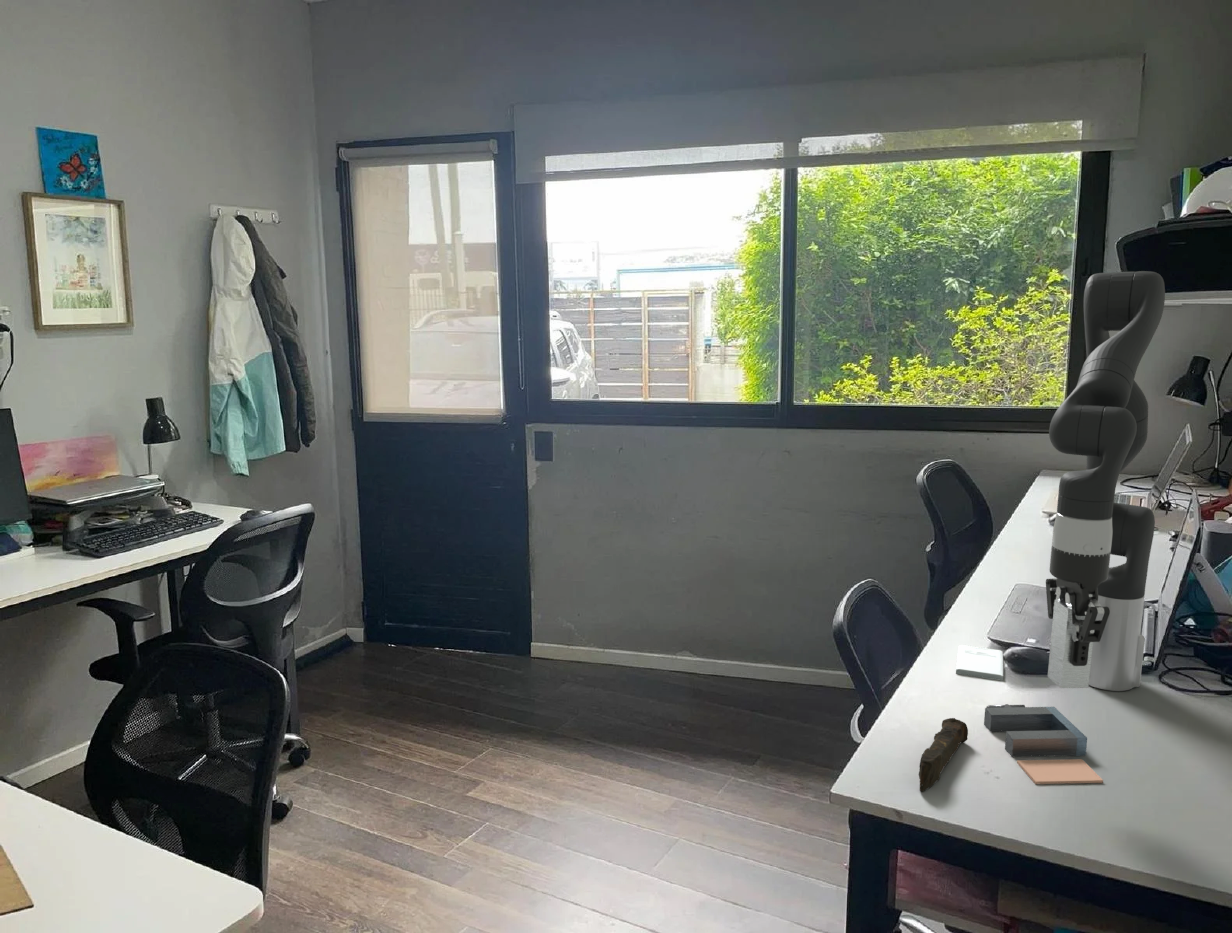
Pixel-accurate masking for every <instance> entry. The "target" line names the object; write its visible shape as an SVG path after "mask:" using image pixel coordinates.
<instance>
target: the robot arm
mask: <svg viewBox="0 0 1232 933" xmlns="http://www.w3.org/2000/svg"><path fill="white" fill-rule="evenodd" d="M1161 275H1162V274H1159V273H1157V272H1155V271H1150V270H1149V271H1147V270H1146V271H1145V270H1141V271H1140V270H1139V271H1116V272H1115V271H1114V272H1113V271H1112V272H1099V273H1094V274H1092V275H1091V276H1090V277H1089V278H1088V279H1087V281H1086V284H1085V288H1084V291H1083V321H1084V336H1085V337H1084V338H1085V351H1086V352H1085V353H1086V359H1085V361H1084V363H1083V365H1082V368H1081V370H1080V373H1079V377H1078V380H1077V384H1076V386H1075V388H1074V389H1073V390H1072V392H1070V394H1069V395H1068V396H1067V398H1065V399H1064V401H1062V403H1061V404H1060V406H1058V408H1057V409H1056V411H1055V413H1054V414H1053V416H1052V418H1051V420H1050V424H1049V430H1048V436H1049V440H1050V442H1051V443H1050V444H1051V445H1052V446H1053V447H1054V449H1055V450H1056V451H1058V452H1059V453H1062V454H1066V455H1073V456H1084V457H1086V469H1082V470H1072V471H1068V472H1064V473H1063V475H1062V476H1061V477H1060V480H1059V485H1058V495H1057V507H1056V515H1055V519H1054V524H1053V528H1052V536H1051V537H1052V539H1051V549H1050V550H1051V551H1050V558H1049V559H1050V562H1049V573H1050V574H1051V576H1053V577H1054V578H1046V579H1045V590H1046V591H1045V592H1046V604H1047V606H1046V607H1047V616H1048V619H1049V620H1053V612H1054V602H1055V600H1058V601H1060V602H1063V601H1064V602H1065V603H1066V604H1067V607H1068V608H1070V609H1071V612H1070V624H1071V625H1072V626H1073V627H1072V639H1073V640H1072V645H1071V655H1070V663H1071V664H1072V665H1073V666H1085V665H1086V664H1087V661H1088V651H1089V644H1090V642H1093V647H1092V656H1091V666H1090V676H1089V686H1091V687H1094V688H1096V689H1100V690H1103V691H1104V690H1105V691H1112V692H1124V691H1129V690H1132V689H1134V688H1140V686H1141V678H1142V677H1141V676H1142V667H1143V659H1144V652H1145V642H1146V638H1145V636H1144V635H1142V633H1141V632H1142V631H1141V630H1142V621H1143V612H1144V602H1145V593H1146V587H1147V586H1146V585H1147V578H1148V570H1149V561H1150V555H1151V550H1152V545H1153V540H1154V534H1155V527H1156V526H1155V522H1156V521H1155V520H1156V518H1155V514H1154V512H1153V510H1152V509H1151V508H1149V507H1146V506H1141V505H1133V504H1127V503H1119V502H1115V494H1116V488H1117V484H1118V483H1117V482H1118V480H1119V477H1120V474H1121V473H1122V472H1123V471H1124V470H1125V468H1127V467H1128V466H1129V465H1130V463H1132V461H1133V460H1134V459H1135V458H1136V457H1137V456H1138V455H1139V453H1141V451H1142V449H1143V448H1144V447H1145V445H1146V442H1147V439H1148V432H1149V431H1148V429H1149V428H1148V427H1149V426H1148V425H1149V424H1148V423H1149V403H1148V399H1147V398H1146V395H1145V393H1144V392H1143V390H1142V389H1141V387H1140V385H1139V384H1138V383H1137V382H1136V380H1135V376H1136V374H1137V370H1138V368H1139V365H1140V363H1141V360H1142V359H1143V356H1144V354H1145V352H1146V351H1147V349H1148V347H1149V346H1150V343H1151V342H1152V340H1153V338H1154V336H1155V334H1156V332H1157V330H1158V328H1159V325H1160V323H1161V320H1162V317H1163V313H1164V308H1165V302H1166V301H1165V300H1166V289H1165V281H1164V278H1163V277H1162V276H1161ZM1113 331H1115V332H1116V333H1115V334H1114V335H1113V336H1111V335H1110V332H1113ZM1111 555H1113V556H1119V557H1125V558H1126V561H1125V563H1122V564H1120V565H1117V566H1111V567H1110V563H1111V562H1110V560H1111ZM1075 614H1076V615H1077V616H1085V619H1076V615H1075ZM1080 625H1082V628H1081V631H1080V633H1079V626H1080ZM1093 630H1094V633H1093Z"/></svg>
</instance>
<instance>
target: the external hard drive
mask: <svg viewBox="0 0 1232 933" xmlns="http://www.w3.org/2000/svg"><path fill="white" fill-rule="evenodd" d="M1003 653H1004V652H1003V651H1002V650H1001V649H993V648H985V647H977V646H971V645H966V644H965V645H964V644H960V645H958V649H957V656H956V657H957V658H956V664H955V666H956V668H955V674H956V675H962V676H969V677H975V678H984V679H991V680H998V681H1004V655H1003Z"/></svg>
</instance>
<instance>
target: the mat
mask: <svg viewBox="0 0 1232 933" xmlns="http://www.w3.org/2000/svg"><path fill="white" fill-rule="evenodd" d="M1016 764H1017V765H1018V766H1019V768H1020V769H1022V771H1023V772H1024V773H1025V774H1026V775H1027V776H1028V777H1029V778H1030V780H1031V781H1032V782H1033V783H1034V784H1035V785H1049V784H1050V785H1052V784H1053V785H1056V784H1057V785H1058V784H1059V785H1061V784H1102V783H1103V784H1104V779H1103V778H1102V777H1101V776H1100V775H1098V774H1097V772H1096V771H1094V769H1093V768H1092V767H1090V766H1089V765H1088V764H1087V762H1086V761H1084V760H1083V759H1081V758H1079V759H1078V758H1077V759H1028V760H1027V759H1025V760H1022V759H1020V760H1016Z"/></svg>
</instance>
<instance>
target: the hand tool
mask: <svg viewBox="0 0 1232 933" xmlns="http://www.w3.org/2000/svg"><path fill="white" fill-rule="evenodd" d="M968 736H969V728H968V726H967V724H966V722H964V721H962V720H960V719H956V718H955V717H952V718H951V717H950V718H946V719H943V720H942V722H941V729H940V731H938V732H937V733H935V734H934V737H933V741H932V742H931V744H930V746H929V747H928V748H926V749H925V750H924V751H923V753H922V754H921V757H920V759H919V760H920V761H919V766H918V768H919V771H918V778H919V791H920V792H925V791H927V790H928V789H930V788H931V787H932V786H934V785H935V783H937V782H938V781H939V780H940V777H941V774H942V772H943V770H944V768H945V767H946V766H947V764H948V763H949V762H950V760H951V758H952V757H953V755H954V754H955V753H956V751H958V748H959V747H960V745H961V744H964V743H966V742H967V740H968Z"/></svg>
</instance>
